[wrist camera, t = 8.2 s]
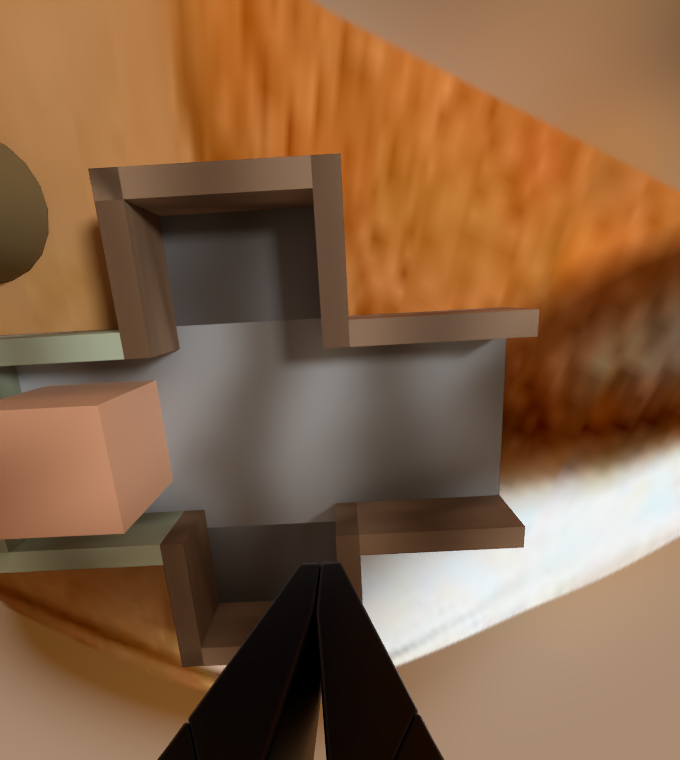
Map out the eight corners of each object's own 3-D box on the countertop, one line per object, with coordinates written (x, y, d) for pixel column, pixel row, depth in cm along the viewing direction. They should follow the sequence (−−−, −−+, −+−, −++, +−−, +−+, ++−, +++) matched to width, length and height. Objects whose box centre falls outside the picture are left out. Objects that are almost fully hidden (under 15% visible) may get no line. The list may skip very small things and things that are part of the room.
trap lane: (507, 173, 15) (550, 141, 12) (489, 596, 19) (516, 651, 16) (-37, 205, 15) (-132, 181, 12) (71, 616, 20) (22, 674, 17)
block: (155, 380, 16) (97, 405, 12) (173, 480, 17) (124, 533, 13) (46, 385, 16) (-47, 412, 12) (70, 485, 17) (-8, 539, 13)
